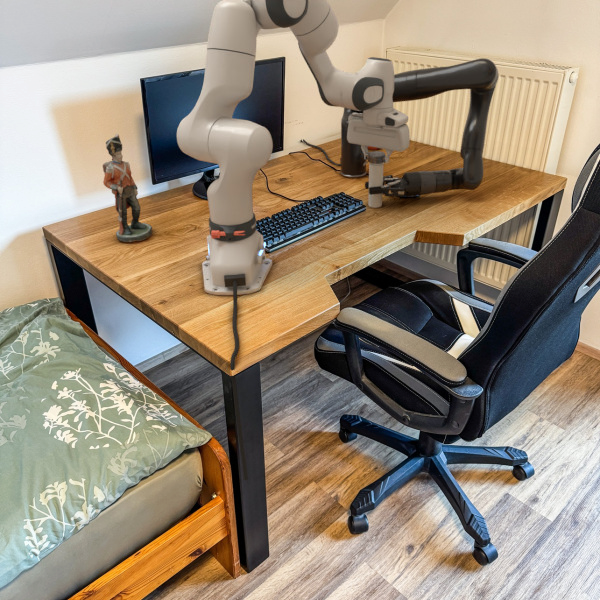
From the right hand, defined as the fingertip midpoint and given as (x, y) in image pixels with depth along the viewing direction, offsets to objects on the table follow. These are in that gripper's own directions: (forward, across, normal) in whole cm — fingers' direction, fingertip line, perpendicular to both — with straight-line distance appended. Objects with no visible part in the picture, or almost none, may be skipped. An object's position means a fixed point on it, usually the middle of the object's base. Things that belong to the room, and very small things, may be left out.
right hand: (367, 188), depth 179 cm
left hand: (-3, 0, -9) cm, 9 cm away
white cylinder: (-3, 0, +6) cm, 7 cm away
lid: (-3, 0, -10) cm, 11 cm away
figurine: (+73, +6, +6) cm, 74 cm away
